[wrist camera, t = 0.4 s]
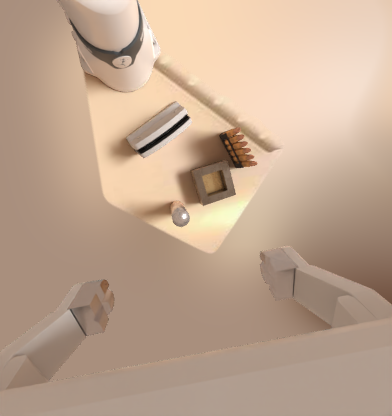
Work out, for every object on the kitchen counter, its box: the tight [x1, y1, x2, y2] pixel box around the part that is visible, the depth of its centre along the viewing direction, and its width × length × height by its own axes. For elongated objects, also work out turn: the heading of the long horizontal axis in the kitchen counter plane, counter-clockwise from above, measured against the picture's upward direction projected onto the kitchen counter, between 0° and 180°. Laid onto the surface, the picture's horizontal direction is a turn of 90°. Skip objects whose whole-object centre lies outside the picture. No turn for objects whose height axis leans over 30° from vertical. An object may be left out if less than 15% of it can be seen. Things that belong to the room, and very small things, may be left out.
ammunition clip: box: [220, 128, 257, 168], centre depth 48 cm, size 11×2×12 cm, turn 31°
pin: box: [170, 201, 190, 227], centre depth 49 cm, size 4×4×12 cm
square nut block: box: [191, 160, 236, 206], centre depth 53 cm, size 10×10×4 cm
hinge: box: [126, 102, 192, 158], centre depth 46 cm, size 17×5×10 cm, turn 125°
